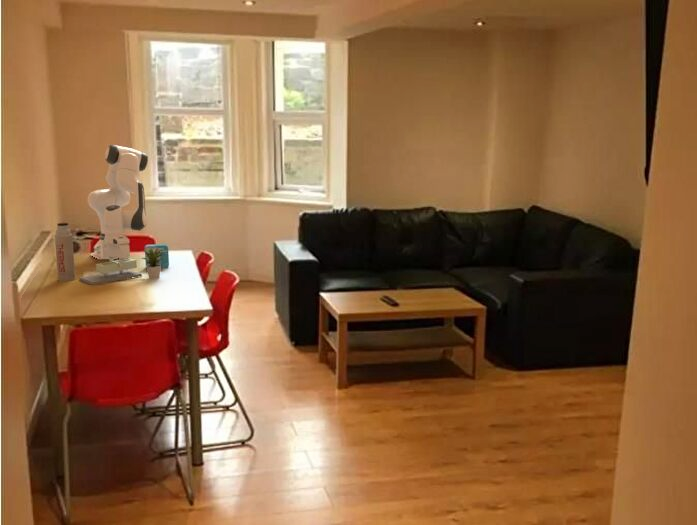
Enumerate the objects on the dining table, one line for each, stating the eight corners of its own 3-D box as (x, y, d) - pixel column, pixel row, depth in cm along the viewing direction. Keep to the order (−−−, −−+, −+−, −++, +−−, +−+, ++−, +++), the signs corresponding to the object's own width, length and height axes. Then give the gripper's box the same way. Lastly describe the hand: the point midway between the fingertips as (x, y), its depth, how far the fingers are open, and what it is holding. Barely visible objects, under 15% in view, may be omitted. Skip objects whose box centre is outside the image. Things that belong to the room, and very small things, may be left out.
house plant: (160, 282, 348) (158, 249, 344) (134, 280, 351) (132, 248, 347) (173, 276, 362) (171, 244, 358) (147, 274, 364) (146, 243, 361)
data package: (145, 268, 378) (144, 246, 376) (145, 266, 383) (144, 244, 380) (169, 267, 382) (168, 245, 379) (168, 265, 386) (167, 243, 383)
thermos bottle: (66, 281, 348) (61, 224, 342) (54, 279, 351) (50, 223, 346) (79, 278, 355) (74, 222, 349) (67, 276, 358) (63, 221, 353)
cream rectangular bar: (129, 265, 365) (129, 258, 365) (136, 267, 361) (136, 260, 360) (96, 271, 352) (95, 264, 351) (103, 273, 348) (102, 265, 347)
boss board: (79, 280, 350) (78, 271, 350) (127, 272, 369) (126, 263, 368) (93, 285, 341) (92, 276, 340) (141, 276, 360) (141, 267, 359)
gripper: (98, 236, 358) (100, 263, 361) (119, 241, 345) (121, 269, 347) (109, 235, 363) (111, 262, 365) (131, 240, 349) (133, 267, 352)
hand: (116, 265), depth 356 cm, fingers closed on cream rectangular bar, 6 cm apart
